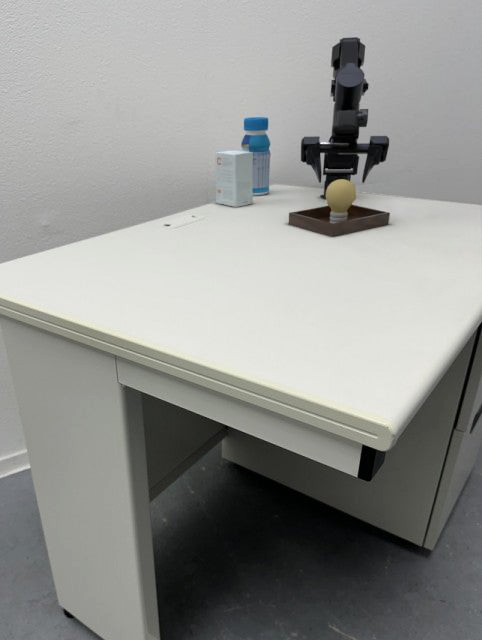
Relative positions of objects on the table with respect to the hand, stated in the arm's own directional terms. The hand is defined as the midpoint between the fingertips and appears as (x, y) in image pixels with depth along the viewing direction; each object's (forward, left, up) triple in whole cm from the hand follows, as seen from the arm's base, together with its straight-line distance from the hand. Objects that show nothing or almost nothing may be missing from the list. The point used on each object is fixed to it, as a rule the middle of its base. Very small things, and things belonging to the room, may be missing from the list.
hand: (341, 181), depth 119 cm
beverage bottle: (-8, -42, -10) cm, 44 cm away
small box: (+5, -34, -10) cm, 36 cm away
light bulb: (+2, +2, -9) cm, 10 cm away
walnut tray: (0, 0, -9) cm, 9 cm away
